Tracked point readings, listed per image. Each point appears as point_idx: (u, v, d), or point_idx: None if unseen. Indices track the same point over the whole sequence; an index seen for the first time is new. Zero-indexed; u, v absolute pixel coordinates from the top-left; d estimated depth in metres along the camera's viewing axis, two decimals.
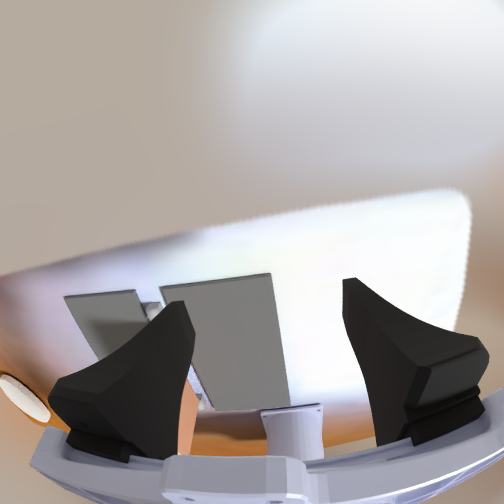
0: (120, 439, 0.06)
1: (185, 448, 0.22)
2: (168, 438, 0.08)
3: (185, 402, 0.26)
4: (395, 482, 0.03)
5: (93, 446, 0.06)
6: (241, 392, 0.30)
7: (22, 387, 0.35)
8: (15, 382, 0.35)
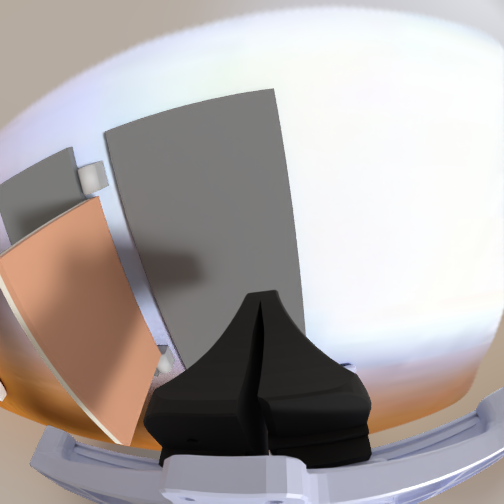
0: (242, 449, 0.06)
1: (122, 426, 0.12)
2: (265, 439, 0.08)
3: (129, 344, 0.15)
4: (395, 482, 0.03)
5: None
6: None
7: None
8: None
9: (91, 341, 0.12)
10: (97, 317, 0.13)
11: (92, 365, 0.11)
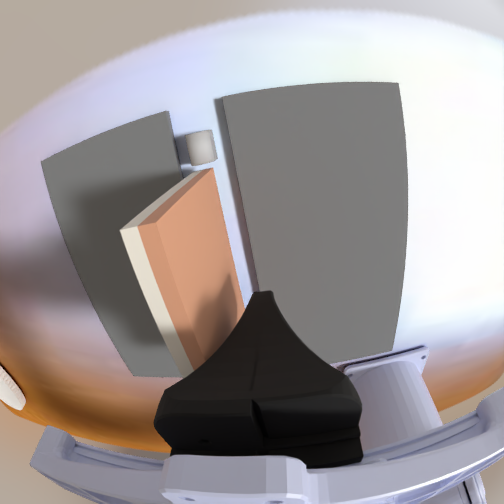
0: (253, 449, 0.06)
1: None
2: None
3: None
4: (395, 482, 0.03)
5: None
6: (328, 327, 0.18)
7: None
8: None
9: (225, 338, 0.11)
10: (226, 309, 0.12)
11: None
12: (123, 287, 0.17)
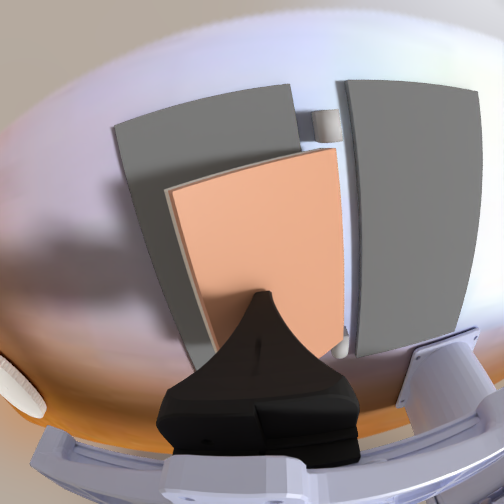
0: (256, 449, 0.06)
1: None
2: None
3: (311, 319, 0.15)
4: (395, 482, 0.03)
5: None
6: (411, 309, 0.18)
7: (5, 363, 0.23)
8: None
9: None
10: (285, 282, 0.13)
11: None
12: None
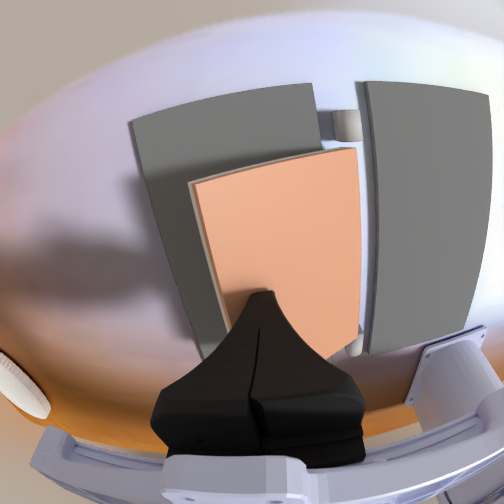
0: (249, 449, 0.06)
1: None
2: None
3: (326, 315, 0.15)
4: (395, 482, 0.03)
5: None
6: (423, 307, 0.18)
7: (9, 363, 0.23)
8: None
9: (281, 298, 0.13)
10: (303, 277, 0.13)
11: None
12: None
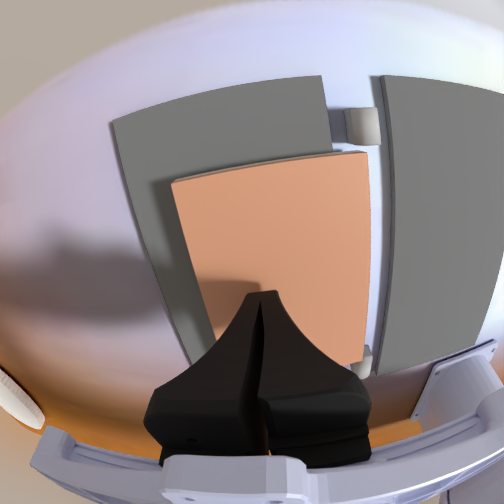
0: (241, 449, 0.06)
1: None
2: (265, 439, 0.08)
3: (318, 328, 0.14)
4: (395, 482, 0.03)
5: None
6: (436, 325, 0.16)
7: (1, 374, 0.21)
8: None
9: None
10: (286, 283, 0.13)
11: None
12: None
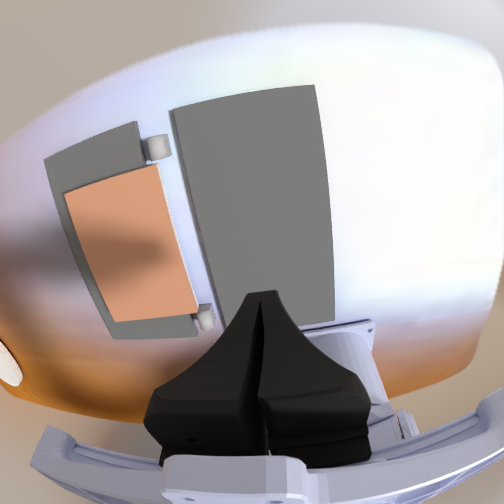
0: (241, 449, 0.06)
1: (115, 310, 0.22)
2: (265, 439, 0.08)
3: (152, 280, 0.21)
4: (395, 482, 0.03)
5: None
6: None
7: None
8: None
9: (113, 257, 0.20)
10: (124, 248, 0.20)
11: (107, 268, 0.20)
12: None
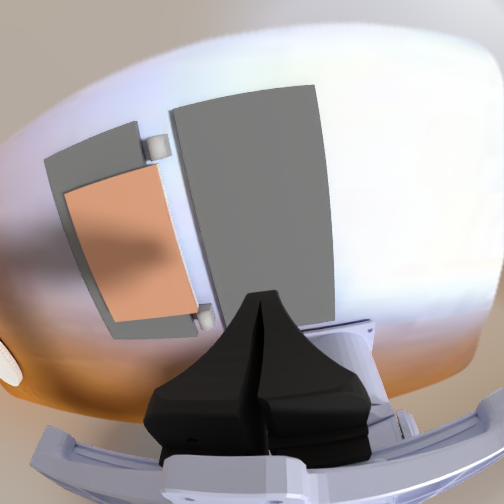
0: (241, 449, 0.06)
1: (115, 310, 0.22)
2: (265, 439, 0.08)
3: (152, 280, 0.21)
4: (395, 482, 0.03)
5: None
6: None
7: None
8: None
9: (113, 257, 0.20)
10: (124, 248, 0.20)
11: (107, 268, 0.20)
12: None
